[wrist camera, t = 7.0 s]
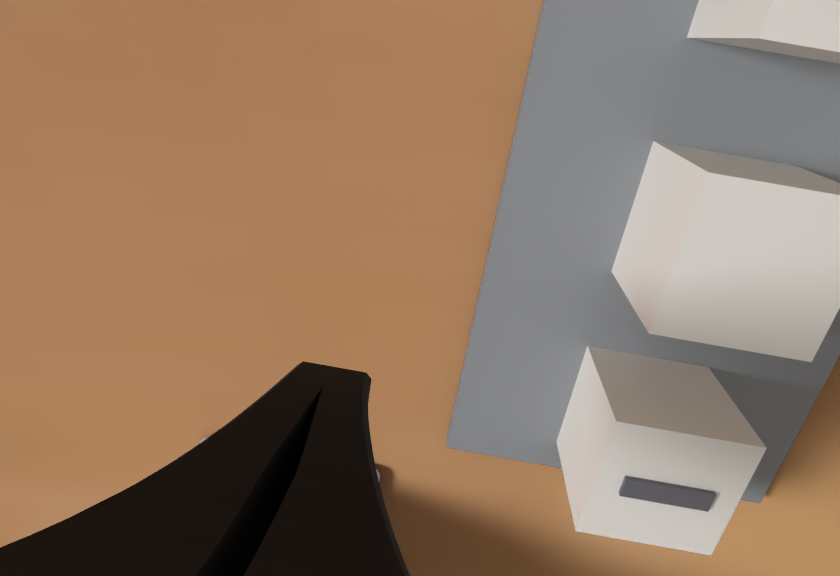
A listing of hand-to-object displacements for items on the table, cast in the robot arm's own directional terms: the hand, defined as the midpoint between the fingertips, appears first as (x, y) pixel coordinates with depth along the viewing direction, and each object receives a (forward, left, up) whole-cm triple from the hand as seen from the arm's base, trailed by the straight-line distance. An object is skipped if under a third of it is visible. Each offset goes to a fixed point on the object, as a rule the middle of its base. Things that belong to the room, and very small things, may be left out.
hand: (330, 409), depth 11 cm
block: (-5, -10, -10) cm, 15 cm away
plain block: (+3, -10, -10) cm, 14 cm away
